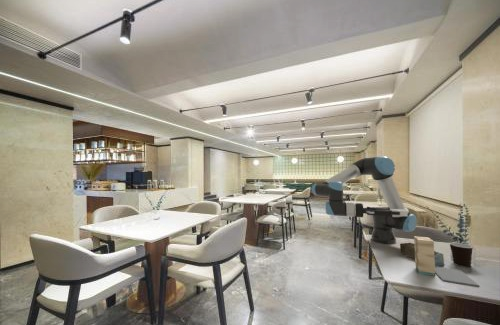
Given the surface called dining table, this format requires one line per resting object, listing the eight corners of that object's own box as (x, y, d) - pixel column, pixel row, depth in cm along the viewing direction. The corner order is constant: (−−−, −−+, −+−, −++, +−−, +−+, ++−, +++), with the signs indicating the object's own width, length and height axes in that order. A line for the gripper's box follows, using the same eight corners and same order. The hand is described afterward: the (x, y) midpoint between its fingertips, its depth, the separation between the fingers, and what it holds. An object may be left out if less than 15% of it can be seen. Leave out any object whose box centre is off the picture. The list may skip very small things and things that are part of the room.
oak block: (415, 268, 106) (414, 236, 107) (430, 270, 103) (428, 237, 105) (419, 273, 100) (417, 239, 102) (435, 275, 98) (433, 241, 99)
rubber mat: (429, 266, 108) (429, 265, 108) (460, 271, 103) (460, 269, 103) (442, 281, 93) (442, 279, 93) (479, 286, 88) (479, 285, 88)
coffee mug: (469, 269, 105) (467, 248, 106) (447, 262, 113) (446, 243, 113) (480, 265, 110) (478, 245, 110) (458, 259, 117) (457, 241, 118)
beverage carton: (432, 266, 108) (432, 253, 109) (399, 253, 127) (398, 242, 127) (444, 265, 110) (444, 252, 110) (410, 252, 128) (409, 241, 129)
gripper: (354, 214, 123) (402, 217, 114) (356, 219, 109) (411, 223, 99) (354, 201, 124) (401, 203, 114) (355, 205, 109) (410, 207, 99)
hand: (406, 213), depth 107 cm, fingers open, 3 cm apart
